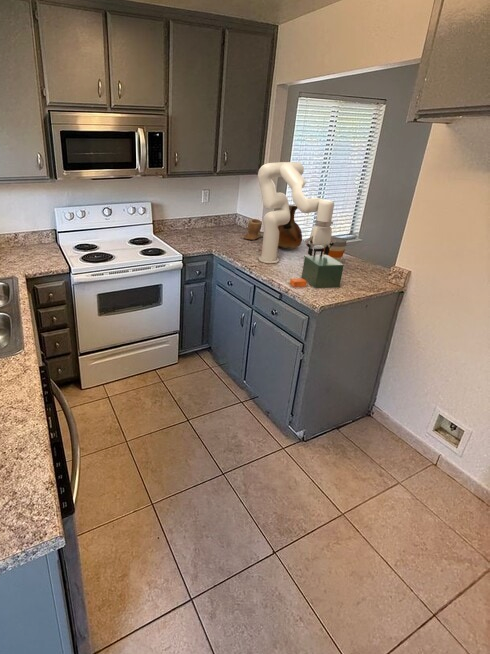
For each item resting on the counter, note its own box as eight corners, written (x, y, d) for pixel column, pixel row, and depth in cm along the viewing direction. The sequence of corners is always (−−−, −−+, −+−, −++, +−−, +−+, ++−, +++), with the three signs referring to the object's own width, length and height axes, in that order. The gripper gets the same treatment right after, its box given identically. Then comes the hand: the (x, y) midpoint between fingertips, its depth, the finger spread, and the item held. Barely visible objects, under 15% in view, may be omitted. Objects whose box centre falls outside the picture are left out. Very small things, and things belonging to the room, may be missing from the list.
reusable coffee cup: (345, 266, 217) (349, 242, 212) (323, 265, 219) (327, 241, 214) (339, 259, 229) (343, 237, 223) (318, 258, 231) (322, 236, 225)
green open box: (301, 277, 202) (304, 257, 197) (324, 276, 203) (327, 256, 199) (315, 288, 187) (318, 267, 183) (339, 287, 189) (343, 266, 184)
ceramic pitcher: (302, 245, 259) (308, 203, 248) (299, 253, 242) (305, 209, 231) (274, 241, 266) (279, 201, 255) (269, 249, 249) (274, 206, 238)
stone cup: (255, 242, 266) (257, 222, 260) (241, 239, 273) (243, 219, 268) (264, 237, 276) (267, 218, 271) (251, 235, 284) (252, 216, 278)
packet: (293, 287, 189) (294, 282, 187) (289, 283, 193) (290, 278, 192) (306, 286, 189) (306, 281, 188) (302, 283, 193) (302, 278, 192)
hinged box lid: (303, 256, 198) (305, 247, 196) (327, 256, 199) (328, 246, 197) (318, 267, 183) (320, 257, 181) (343, 266, 184) (345, 256, 182)
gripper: (334, 221, 194) (329, 252, 200) (304, 222, 192) (299, 253, 199) (342, 225, 187) (336, 256, 193) (310, 226, 185) (306, 257, 192)
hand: (318, 254), depth 196 cm, fingers open, 8 cm apart
